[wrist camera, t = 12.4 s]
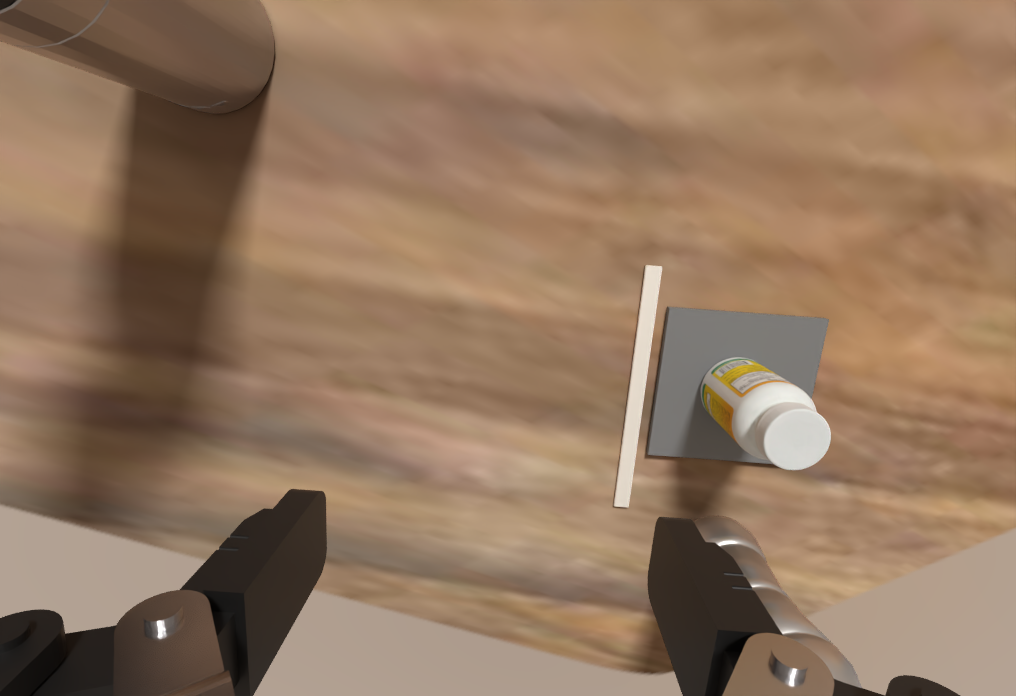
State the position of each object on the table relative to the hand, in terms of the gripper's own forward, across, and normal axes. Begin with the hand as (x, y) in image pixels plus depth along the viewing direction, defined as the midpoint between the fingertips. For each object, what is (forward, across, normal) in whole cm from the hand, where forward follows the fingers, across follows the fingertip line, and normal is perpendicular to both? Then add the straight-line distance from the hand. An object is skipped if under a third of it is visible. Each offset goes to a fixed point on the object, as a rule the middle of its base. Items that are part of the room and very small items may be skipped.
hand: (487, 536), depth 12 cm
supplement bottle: (+28, -18, +4) cm, 33 cm away
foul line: (+28, -10, +5) cm, 30 cm away
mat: (+28, -18, +4) cm, 34 cm away
